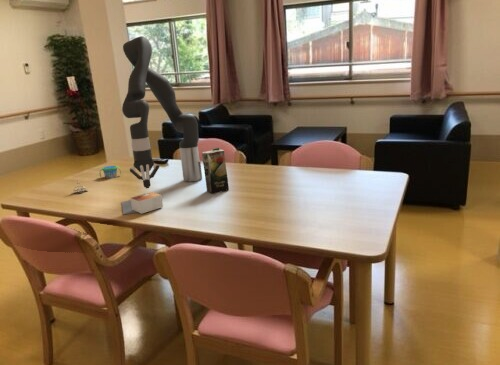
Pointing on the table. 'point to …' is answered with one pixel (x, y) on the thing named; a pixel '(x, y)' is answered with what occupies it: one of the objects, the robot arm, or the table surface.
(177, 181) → the table surface
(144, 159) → the robot arm
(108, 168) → the snack cup
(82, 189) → the house of cards
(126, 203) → the mat
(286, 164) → the table surface
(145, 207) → the small box
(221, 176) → the juice carton
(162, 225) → the table surface
